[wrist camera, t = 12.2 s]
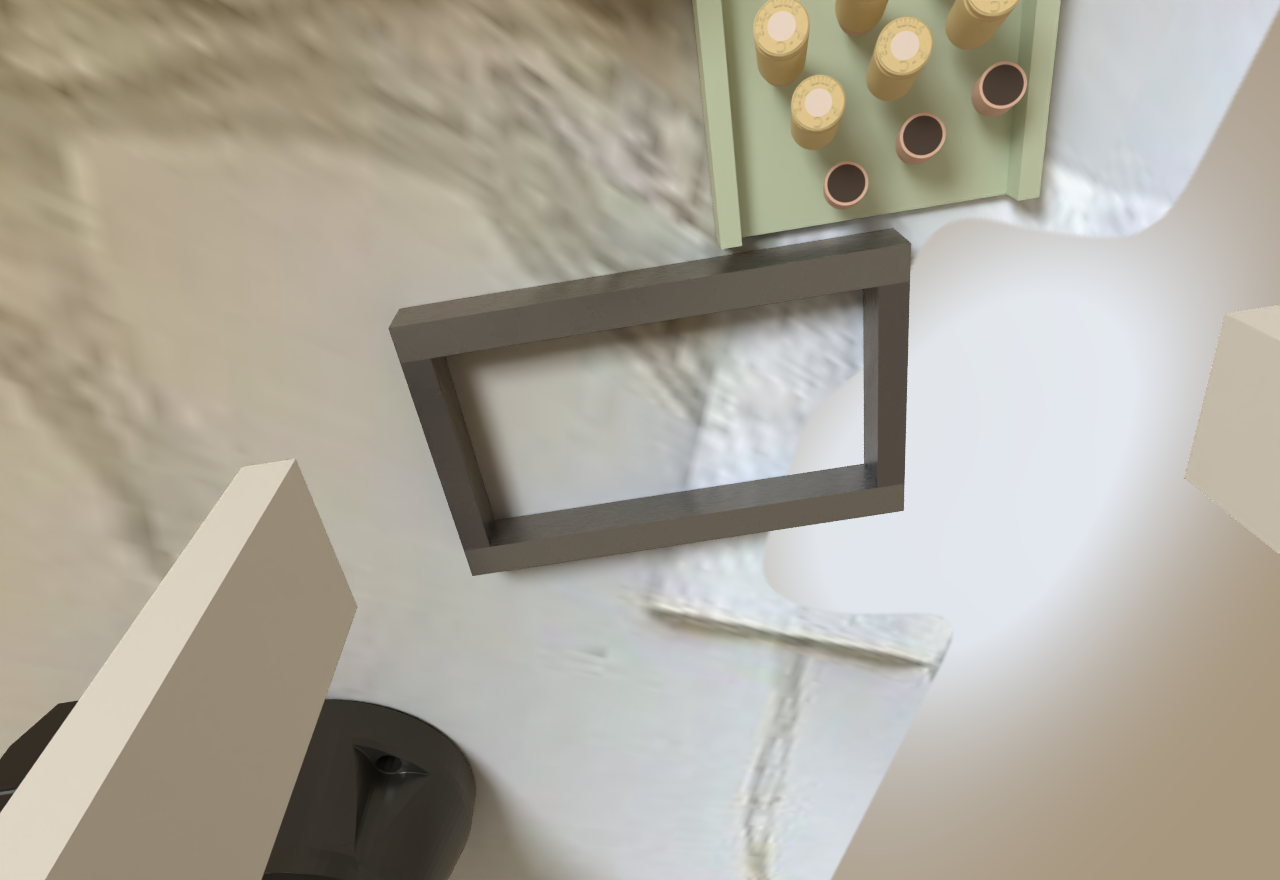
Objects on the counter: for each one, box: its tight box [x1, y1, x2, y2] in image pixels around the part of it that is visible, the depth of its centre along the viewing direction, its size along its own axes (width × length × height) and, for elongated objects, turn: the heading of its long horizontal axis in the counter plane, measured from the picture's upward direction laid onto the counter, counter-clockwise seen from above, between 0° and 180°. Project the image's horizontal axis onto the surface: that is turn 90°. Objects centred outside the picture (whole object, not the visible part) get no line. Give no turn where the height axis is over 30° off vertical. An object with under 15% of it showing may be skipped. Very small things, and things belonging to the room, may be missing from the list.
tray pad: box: [692, 0, 1061, 249], centre depth 28 cm, size 11×12×1 cm
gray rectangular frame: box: [389, 228, 911, 576], centre depth 34 cm, size 12×20×2 cm, turn 99°
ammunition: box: [753, 0, 1027, 209], centre depth 26 cm, size 5×7×8 cm
